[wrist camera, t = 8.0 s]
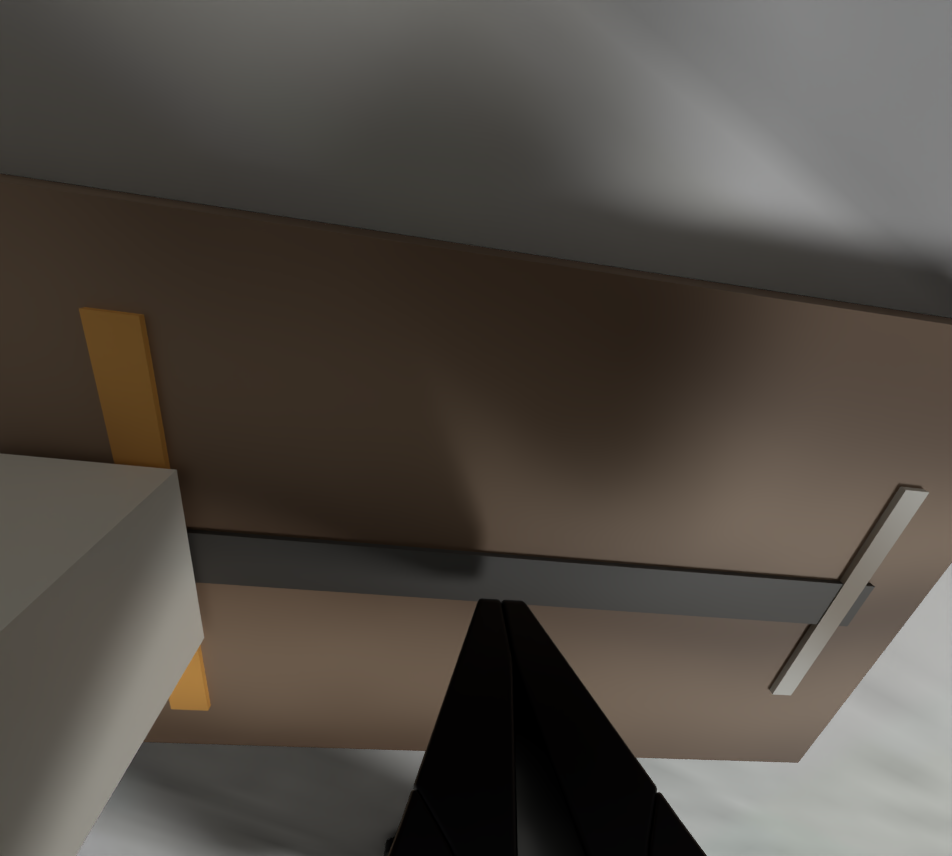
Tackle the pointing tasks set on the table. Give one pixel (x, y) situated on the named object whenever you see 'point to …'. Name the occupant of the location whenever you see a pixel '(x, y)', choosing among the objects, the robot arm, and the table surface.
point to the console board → (484, 466)
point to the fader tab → (84, 636)
